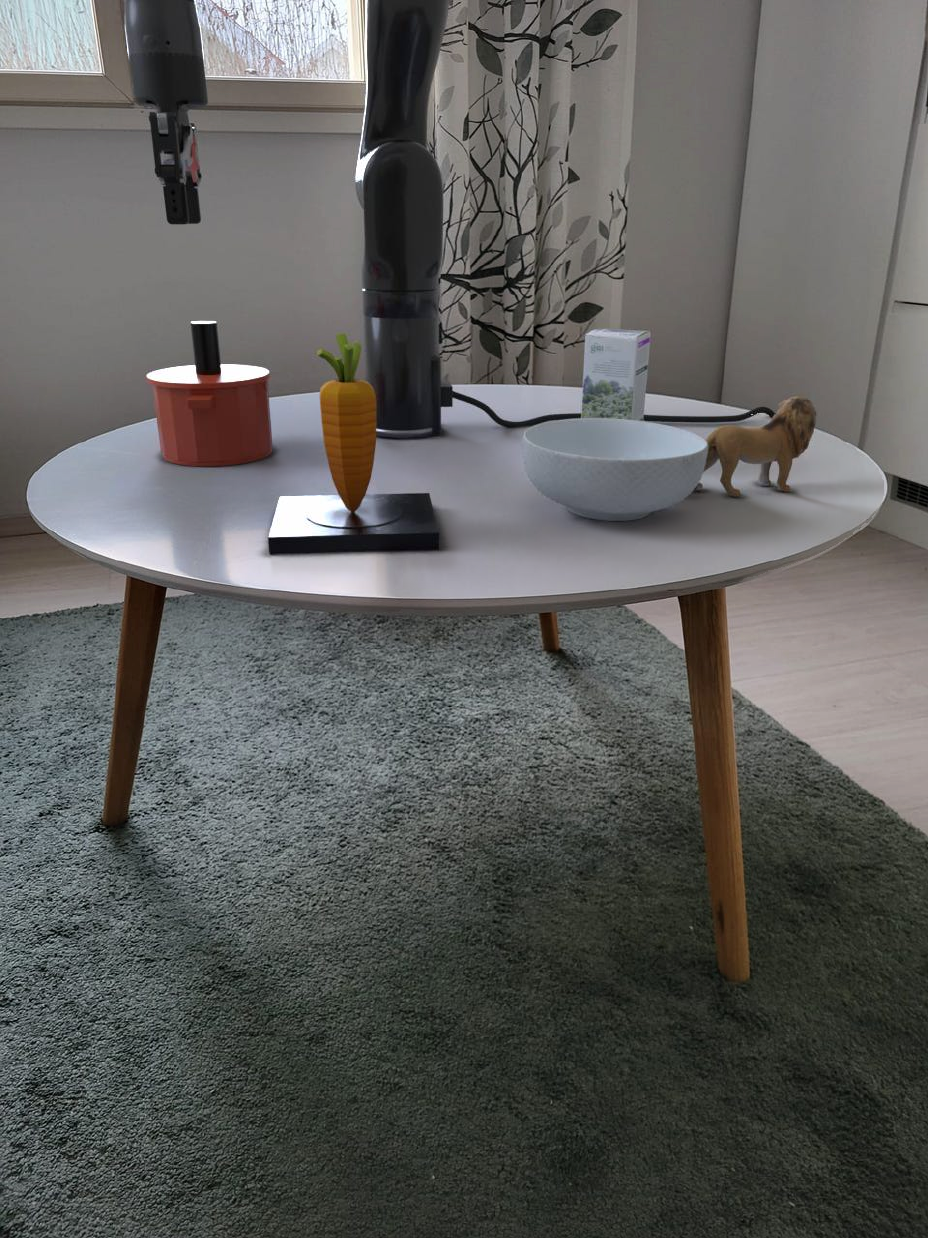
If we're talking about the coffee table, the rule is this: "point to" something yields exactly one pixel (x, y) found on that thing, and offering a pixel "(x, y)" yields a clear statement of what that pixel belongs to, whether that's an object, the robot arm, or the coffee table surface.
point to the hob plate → (353, 524)
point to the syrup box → (615, 374)
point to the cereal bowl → (613, 465)
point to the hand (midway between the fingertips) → (185, 223)
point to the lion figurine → (763, 444)
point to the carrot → (348, 425)
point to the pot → (214, 424)
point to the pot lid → (207, 366)
